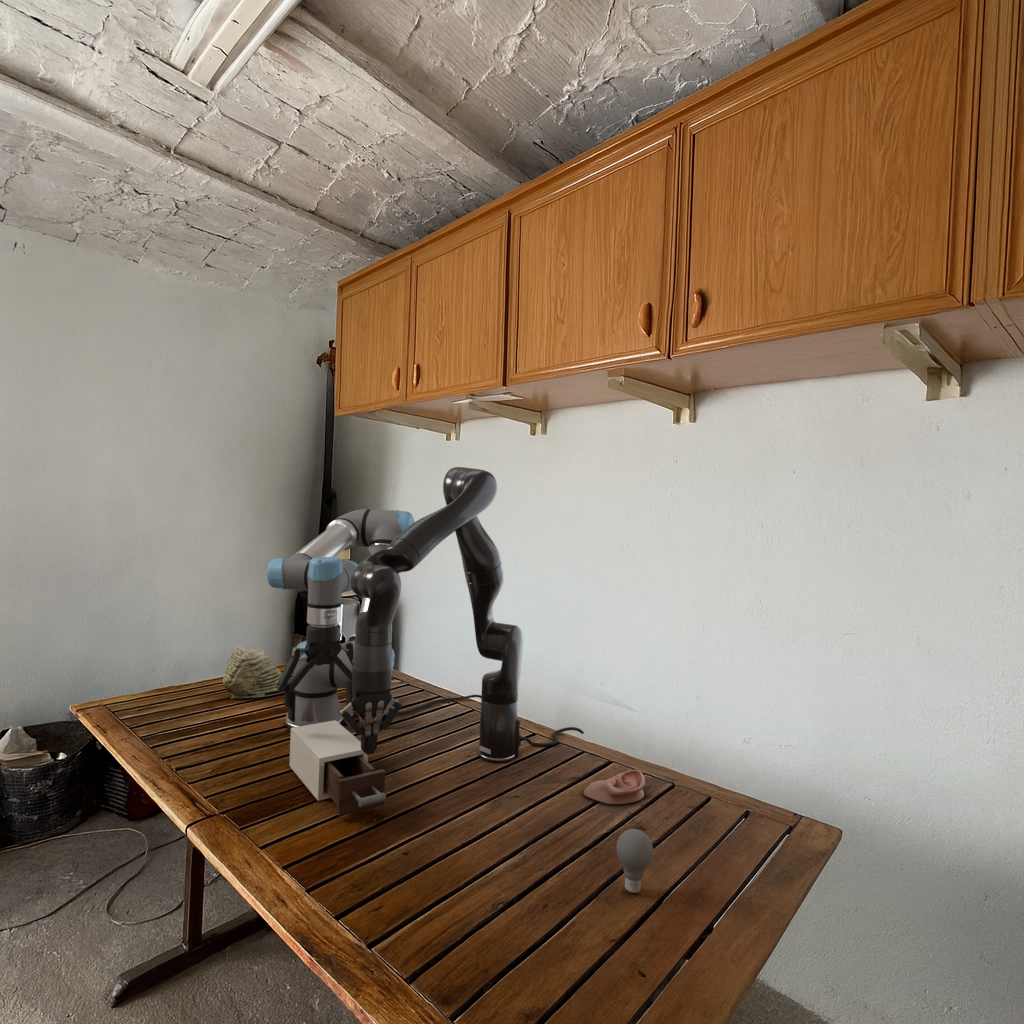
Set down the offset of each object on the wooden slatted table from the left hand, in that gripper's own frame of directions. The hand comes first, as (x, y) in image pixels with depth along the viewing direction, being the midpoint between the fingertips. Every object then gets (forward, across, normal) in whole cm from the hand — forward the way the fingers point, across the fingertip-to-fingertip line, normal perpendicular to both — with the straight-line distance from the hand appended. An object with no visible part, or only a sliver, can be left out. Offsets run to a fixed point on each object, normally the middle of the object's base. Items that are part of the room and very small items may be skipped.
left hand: (321, 714), depth 148 cm
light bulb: (+12, +28, -73) cm, 79 cm away
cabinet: (+12, 0, -6) cm, 14 cm away
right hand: (-1, 0, -28) cm, 28 cm away
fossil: (+13, 0, +61) cm, 63 cm away
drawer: (+11, 0, -20) cm, 23 cm away
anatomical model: (+12, +51, -45) cm, 69 cm away
